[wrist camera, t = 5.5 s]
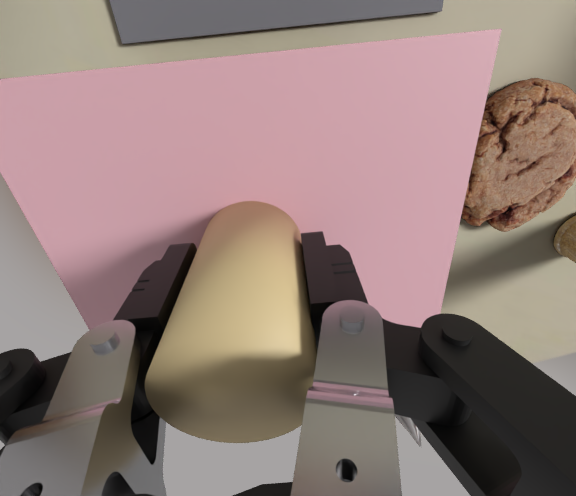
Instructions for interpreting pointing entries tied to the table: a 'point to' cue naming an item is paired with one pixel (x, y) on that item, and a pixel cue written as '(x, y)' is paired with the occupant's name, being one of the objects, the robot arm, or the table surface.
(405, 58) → the lid
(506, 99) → the cookie
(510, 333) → the table surface
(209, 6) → the mat
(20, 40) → the table surface
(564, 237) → the sprinkles bottle
